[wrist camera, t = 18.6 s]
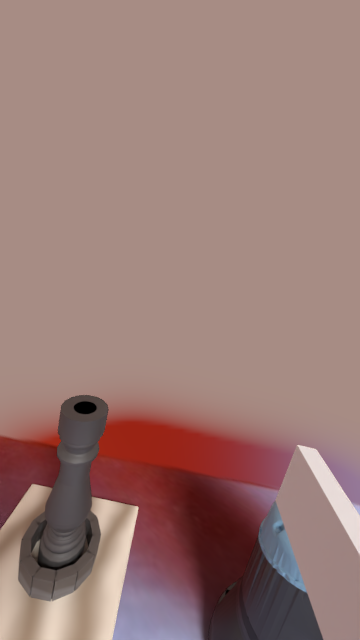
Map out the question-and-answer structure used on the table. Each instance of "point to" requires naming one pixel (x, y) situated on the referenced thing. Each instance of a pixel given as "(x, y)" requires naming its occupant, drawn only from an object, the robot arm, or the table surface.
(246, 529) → the table surface
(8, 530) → the socket board
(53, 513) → the candle holder
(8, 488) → the table surface
